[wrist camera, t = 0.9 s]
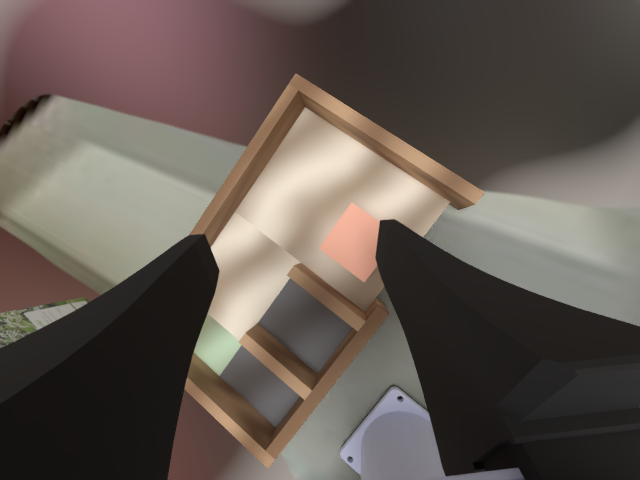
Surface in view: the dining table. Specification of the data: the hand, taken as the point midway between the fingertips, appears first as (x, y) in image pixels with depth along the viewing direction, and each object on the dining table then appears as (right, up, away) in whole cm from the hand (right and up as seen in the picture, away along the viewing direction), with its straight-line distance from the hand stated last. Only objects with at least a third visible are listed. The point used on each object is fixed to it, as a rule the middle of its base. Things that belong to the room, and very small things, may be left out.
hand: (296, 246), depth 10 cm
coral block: (+4, 0, +10) cm, 11 cm away
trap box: (-2, -3, +12) cm, 12 cm away
